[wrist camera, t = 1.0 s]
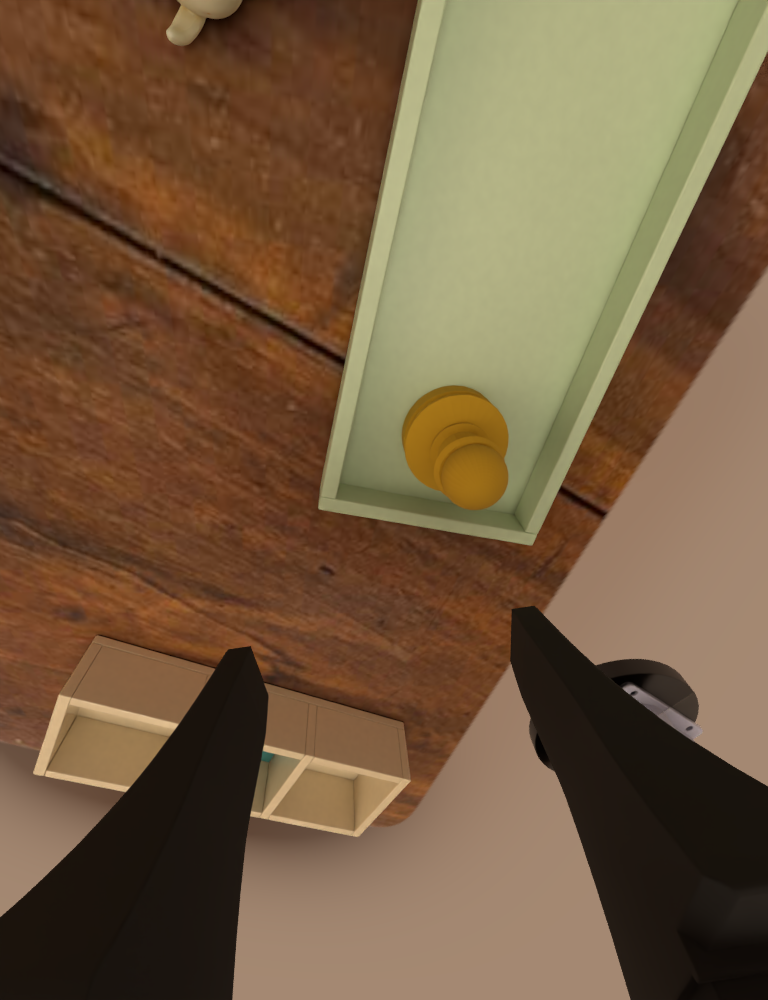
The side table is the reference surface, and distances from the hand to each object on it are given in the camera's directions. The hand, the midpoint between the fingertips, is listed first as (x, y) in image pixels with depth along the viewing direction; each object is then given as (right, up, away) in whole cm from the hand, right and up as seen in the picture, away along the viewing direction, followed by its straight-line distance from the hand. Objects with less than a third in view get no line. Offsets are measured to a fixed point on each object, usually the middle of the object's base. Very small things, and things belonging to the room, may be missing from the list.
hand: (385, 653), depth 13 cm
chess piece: (+3, +7, +6) cm, 10 cm away
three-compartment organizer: (-8, -8, +14) cm, 18 cm away
